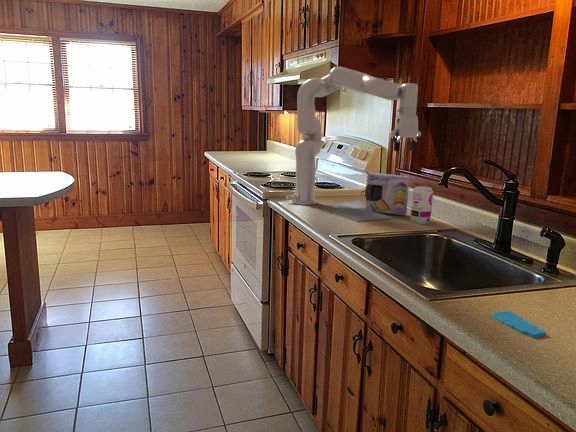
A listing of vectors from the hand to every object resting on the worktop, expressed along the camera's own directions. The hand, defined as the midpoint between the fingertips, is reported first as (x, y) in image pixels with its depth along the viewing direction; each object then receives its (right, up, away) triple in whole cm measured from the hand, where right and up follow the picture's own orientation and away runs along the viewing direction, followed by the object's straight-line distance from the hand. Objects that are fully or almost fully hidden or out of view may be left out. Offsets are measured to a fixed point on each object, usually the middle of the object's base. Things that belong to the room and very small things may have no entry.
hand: (404, 150), depth 220 cm
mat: (-20, -29, -3) cm, 36 cm away
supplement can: (+3, -33, -13) cm, 35 cm away
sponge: (-1, -55, -111) cm, 124 cm away
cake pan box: (-9, -28, +2) cm, 30 cm away
